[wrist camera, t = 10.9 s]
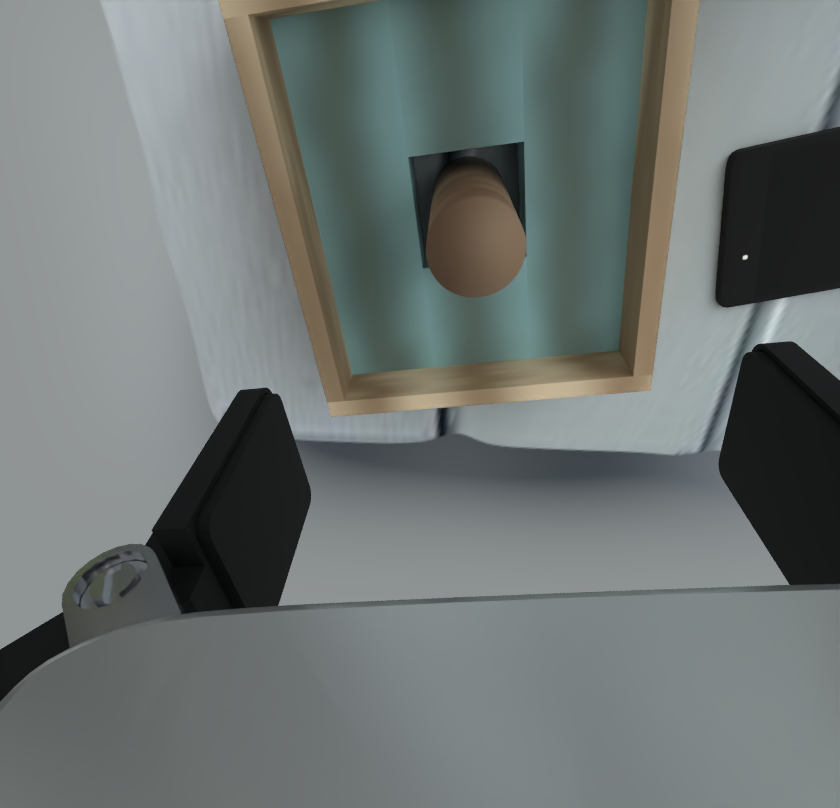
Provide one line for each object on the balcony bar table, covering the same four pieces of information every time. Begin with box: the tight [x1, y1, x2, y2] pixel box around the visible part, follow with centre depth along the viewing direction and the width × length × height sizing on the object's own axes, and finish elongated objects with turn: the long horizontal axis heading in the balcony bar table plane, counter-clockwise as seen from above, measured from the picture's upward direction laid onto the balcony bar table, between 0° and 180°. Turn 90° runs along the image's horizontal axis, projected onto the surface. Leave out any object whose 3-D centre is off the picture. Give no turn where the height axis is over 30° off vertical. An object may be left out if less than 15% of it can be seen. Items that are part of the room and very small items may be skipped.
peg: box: [426, 156, 526, 298], centre depth 25 cm, size 4×4×10 cm
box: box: [218, 0, 700, 417], centre depth 27 cm, size 18×20×6 cm
